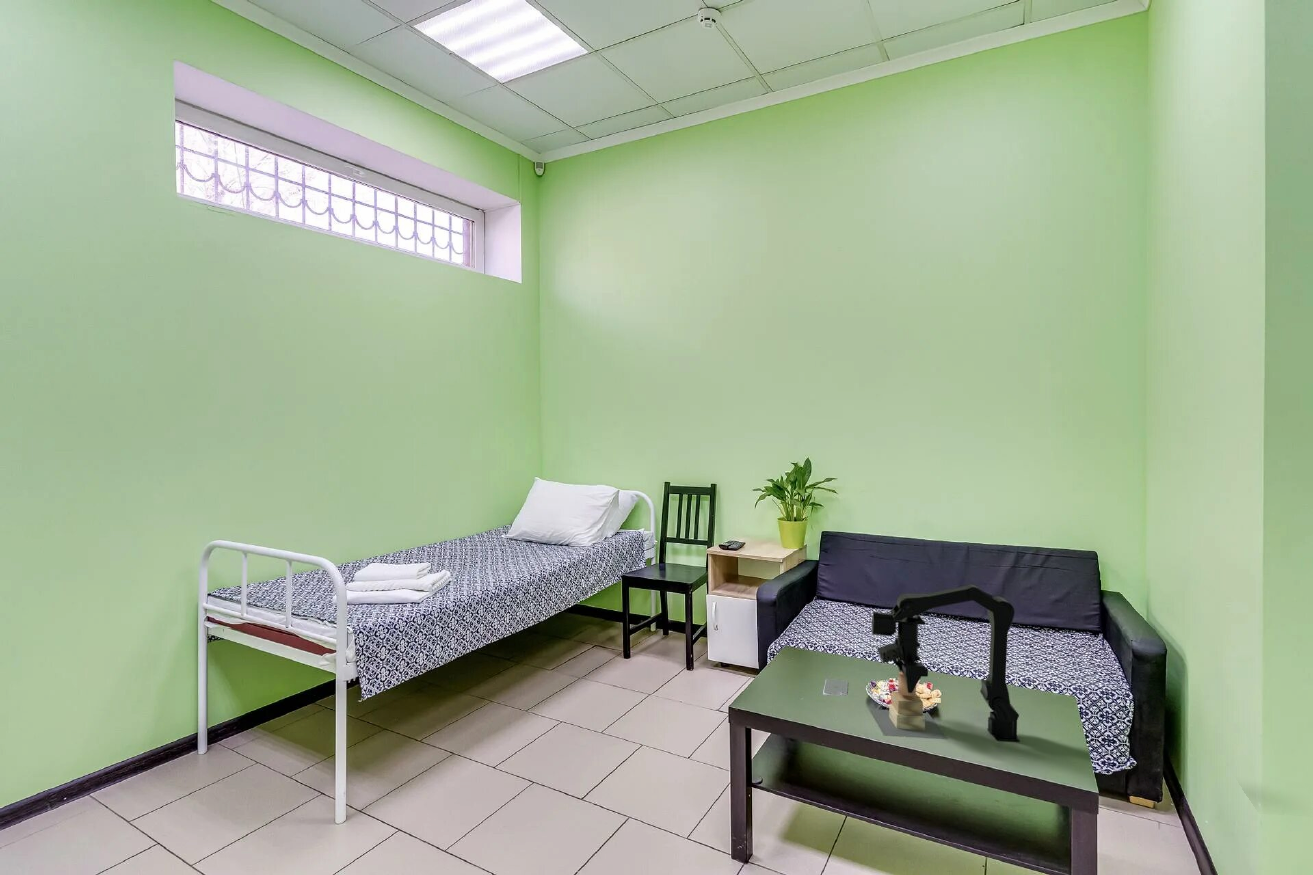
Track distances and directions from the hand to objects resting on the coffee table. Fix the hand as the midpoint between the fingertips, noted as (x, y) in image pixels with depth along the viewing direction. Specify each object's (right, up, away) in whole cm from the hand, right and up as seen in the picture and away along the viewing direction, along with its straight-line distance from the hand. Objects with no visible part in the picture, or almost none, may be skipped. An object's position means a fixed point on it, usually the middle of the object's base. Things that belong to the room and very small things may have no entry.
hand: (907, 689), depth 188 cm
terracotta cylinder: (0, -1, 0) cm, 1 cm away
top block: (0, -6, 0) cm, 6 cm away
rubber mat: (0, -11, 0) cm, 11 cm away
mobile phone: (-14, -11, +27) cm, 33 cm away
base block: (0, -10, 0) cm, 10 cm away
